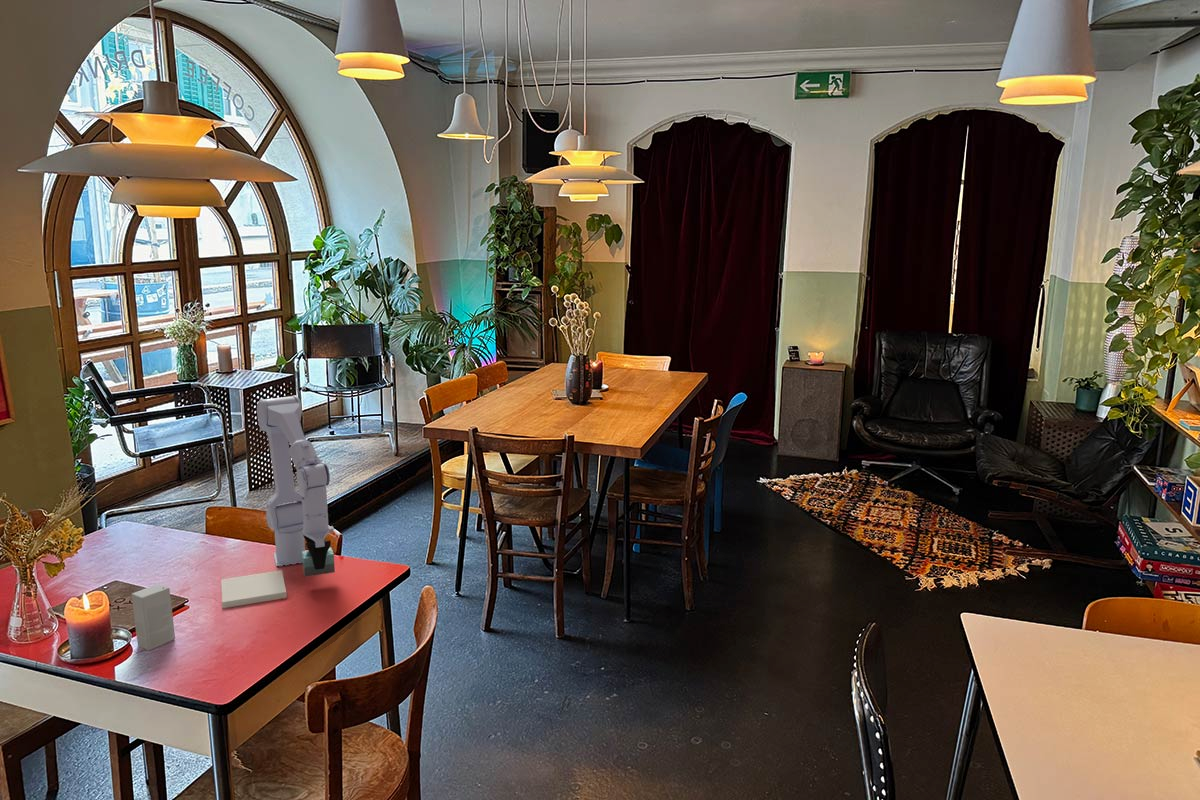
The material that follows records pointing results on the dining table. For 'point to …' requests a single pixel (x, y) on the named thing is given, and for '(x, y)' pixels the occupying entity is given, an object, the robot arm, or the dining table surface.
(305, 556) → the block
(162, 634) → the skincare box
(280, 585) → the stand tile
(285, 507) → the robot arm
